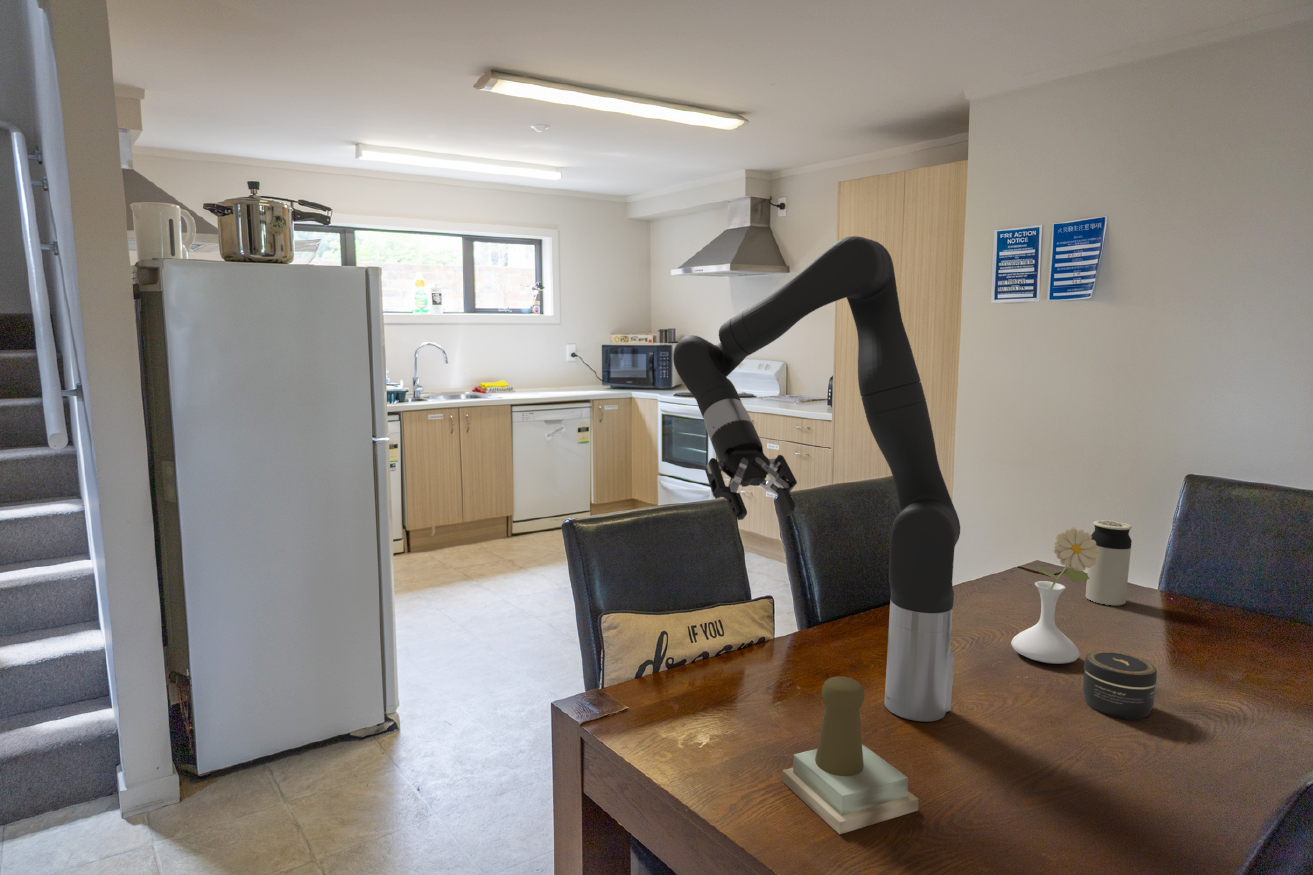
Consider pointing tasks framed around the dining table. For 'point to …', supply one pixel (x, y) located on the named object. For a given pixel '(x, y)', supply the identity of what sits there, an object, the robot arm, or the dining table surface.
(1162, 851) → the dining table surface
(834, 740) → the cork
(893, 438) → the robot arm
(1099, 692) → the jar
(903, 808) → the plinth
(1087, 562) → the flower in vase
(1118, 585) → the travel mug
